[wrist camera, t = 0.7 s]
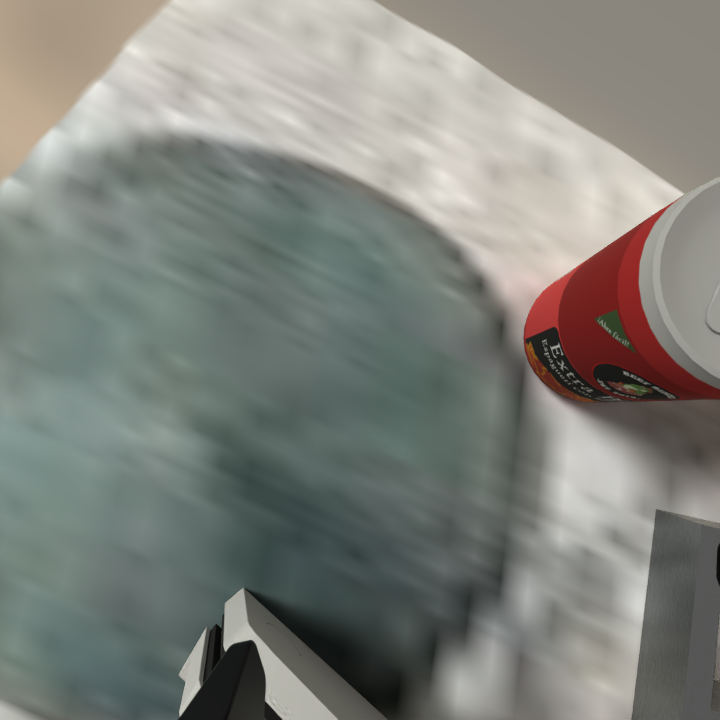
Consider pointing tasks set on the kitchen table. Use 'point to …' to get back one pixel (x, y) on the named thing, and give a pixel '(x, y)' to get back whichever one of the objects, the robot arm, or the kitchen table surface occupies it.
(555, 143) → the kitchen table surface
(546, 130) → the kitchen table surface
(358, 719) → the game console
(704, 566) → the grey cinder block
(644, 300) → the canned food
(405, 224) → the kitchen table surface
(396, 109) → the kitchen table surface
